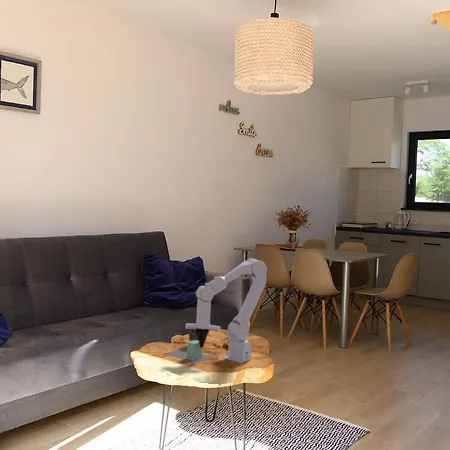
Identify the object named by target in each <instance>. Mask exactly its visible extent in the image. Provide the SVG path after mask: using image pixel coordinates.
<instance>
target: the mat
mask: <svg viewBox="0 0 450 450" xmlns="http://www.w3.org/2000/svg"><path fill="white" fill-rule="evenodd" d="M164 354H165V355H168V356H171V357H174V358H176V359H180V360H182V361H186V362H189V363H192V364H198V363H201V362H204V361H208V360H211V359H214V357H213V356H211V355H210V356H209V355H206V354H203V353H202V358H200V359H197V360H191V359H188V358H187V348H180V349H176V350H172V351H168V352H165V353H164Z"/></svg>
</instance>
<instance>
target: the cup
mask: <svg viewBox="0 0 450 450" xmlns="http://www.w3.org/2000/svg"><path fill="white" fill-rule="evenodd" d="M195 331H196V329H188V340H189V341H193V340H197V341H199V340H198V337H197V335H196V332H195ZM189 341H188V342H189Z"/></svg>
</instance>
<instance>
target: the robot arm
mask: <svg viewBox="0 0 450 450" xmlns="http://www.w3.org/2000/svg"><path fill="white" fill-rule="evenodd" d="M267 271H268V268H267V266H266V263H265V262H264V261H263V260H258V259H257V258H256V259H255V258H253V257H250V258H247V259H246V260H244V261H243V262H241V263H240V264H239V265H237V266H236V267H235V268H233V269H231V271H229V272H228V273H226V274H225V275H218V276H214V277H213V279H212V280H210V281H209V282H206V283H204V285H200V286H198V288H197V289H196V291H195V296H196V298H197V305H196V322H195V323H185V329H186V330H187V329H188V330H190V329H191V330H192V329H196V331H195V332H196V335H197V337H198V340H199V345H200V347H202V348H204V346H205V342H206V339H207V337H208V335H209V333H210V332H212V331H213V332H218V333H220V332H221V326H220V325H214V324H211V310H212V309H211V304H212V302H211V301H212V300H213V299H214V296H216V295H217V294H218V293H220V292H222V291H224V289H226V288H227V287H228V284H229V283H231V282H233V281H234V280H236V279H238V278H239V277H241V276H243V275H250V277H251V280H252V284H251V286H250V288H249V291H248V292H247V295H246V296H245V298H244V301H243V303H242V306H241V307H240V310H239V312H238V314H237V315H236V316H234V318H233V319H232V321H231V322H230V323H229V324H228V326H227V332H228V334H229V337H228V356H225V357H223V358H224V359H226V360H229V361H232V362H236V363H239V364H242V363H245V362H248V361H251V360H253V359H252V343H251V342H250V341H248V340H247V337H248V336H249V333H250V332H249V330H250V327H251V323H250V320H251V317H252V315H253V313H254V311H255V309H256V307H257V304H258V302H259V300H260V298H261V295H262V293H263V291H264V289H265V287H266V284H267Z"/></svg>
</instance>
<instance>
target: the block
mask: <svg viewBox="0 0 450 450" xmlns="http://www.w3.org/2000/svg"><path fill="white" fill-rule="evenodd" d="M186 349H187V358H188V359H191V360H197V359H200V358H202V354H203V353H202V352H203V347H200V345H199V341H197V340H193V341H187V346H186Z"/></svg>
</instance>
